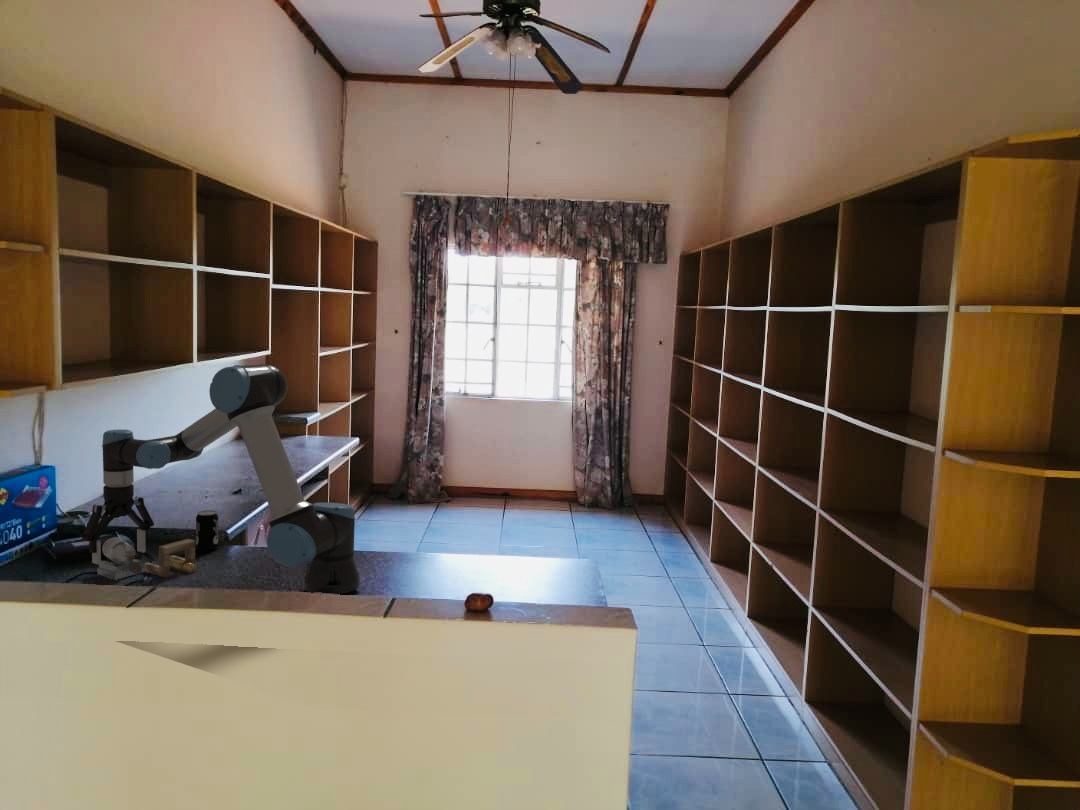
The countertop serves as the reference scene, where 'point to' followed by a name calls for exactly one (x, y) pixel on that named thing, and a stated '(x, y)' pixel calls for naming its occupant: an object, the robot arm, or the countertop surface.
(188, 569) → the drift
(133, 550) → the grey rounded piece
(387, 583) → the countertop surface
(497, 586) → the countertop surface
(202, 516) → the beverage can
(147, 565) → the tan wooden angular frame
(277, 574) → the countertop surface
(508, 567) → the countertop surface
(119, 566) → the v block
